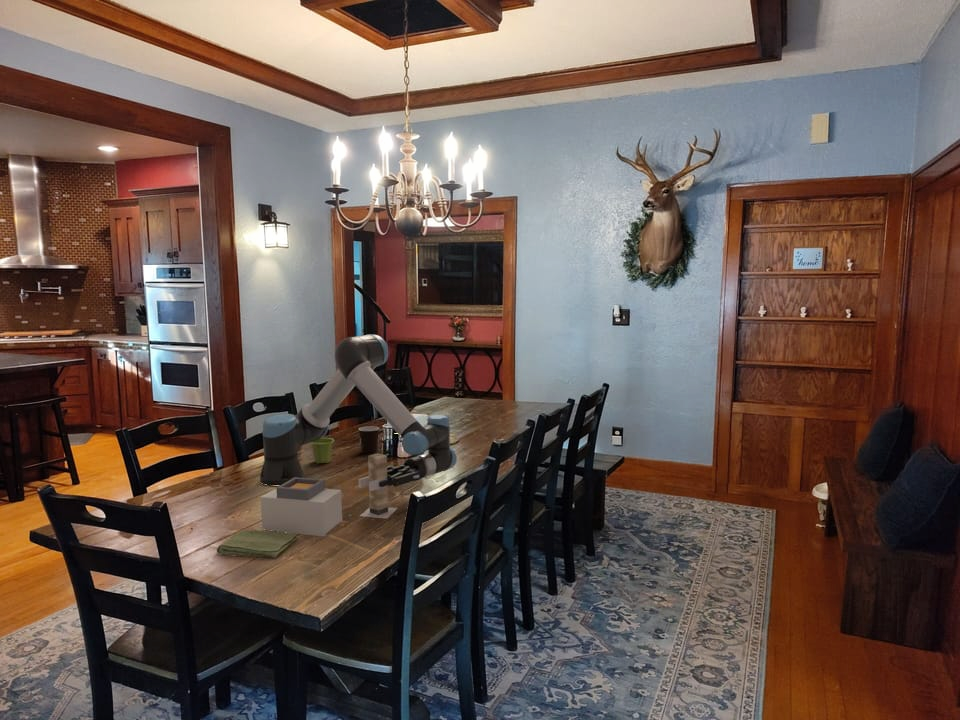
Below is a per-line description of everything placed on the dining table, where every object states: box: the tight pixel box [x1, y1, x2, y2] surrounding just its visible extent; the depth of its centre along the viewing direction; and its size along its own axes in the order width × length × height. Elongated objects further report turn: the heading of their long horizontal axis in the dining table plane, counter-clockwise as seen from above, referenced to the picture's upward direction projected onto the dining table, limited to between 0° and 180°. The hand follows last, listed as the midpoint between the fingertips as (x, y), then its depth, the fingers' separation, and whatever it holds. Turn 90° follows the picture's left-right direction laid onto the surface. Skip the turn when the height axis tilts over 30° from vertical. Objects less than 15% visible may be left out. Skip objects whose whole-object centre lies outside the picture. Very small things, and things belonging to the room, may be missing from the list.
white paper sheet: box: [359, 506, 399, 520], centre depth 193 cm, size 9×9×1 cm
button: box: [290, 483, 314, 489], centre depth 183 cm, size 6×6×3 cm
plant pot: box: [310, 437, 335, 464], centre depth 250 cm, size 9×9×9 cm
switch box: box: [260, 477, 343, 537], centre depth 183 cm, size 20×11×13 cm, turn 76°
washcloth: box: [216, 529, 297, 559], centre depth 169 cm, size 13×18×3 cm
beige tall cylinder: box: [367, 452, 389, 515], centre depth 192 cm, size 4×4×18 cm
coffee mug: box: [358, 425, 380, 454], centre depth 266 cm, size 12×9×10 cm
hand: (364, 485), depth 188 cm, fingers closed on beige tall cylinder, 4 cm apart
